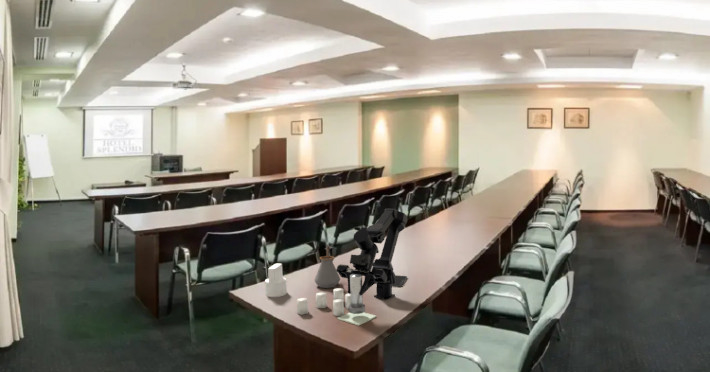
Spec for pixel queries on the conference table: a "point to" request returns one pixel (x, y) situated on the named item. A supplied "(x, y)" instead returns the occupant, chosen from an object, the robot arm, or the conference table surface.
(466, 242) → the conference table surface
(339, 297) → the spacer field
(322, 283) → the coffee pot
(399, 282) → the phone
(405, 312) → the conference table surface
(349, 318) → the sage mat
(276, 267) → the cylinder with rectangular tab
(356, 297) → the silver cylinder
